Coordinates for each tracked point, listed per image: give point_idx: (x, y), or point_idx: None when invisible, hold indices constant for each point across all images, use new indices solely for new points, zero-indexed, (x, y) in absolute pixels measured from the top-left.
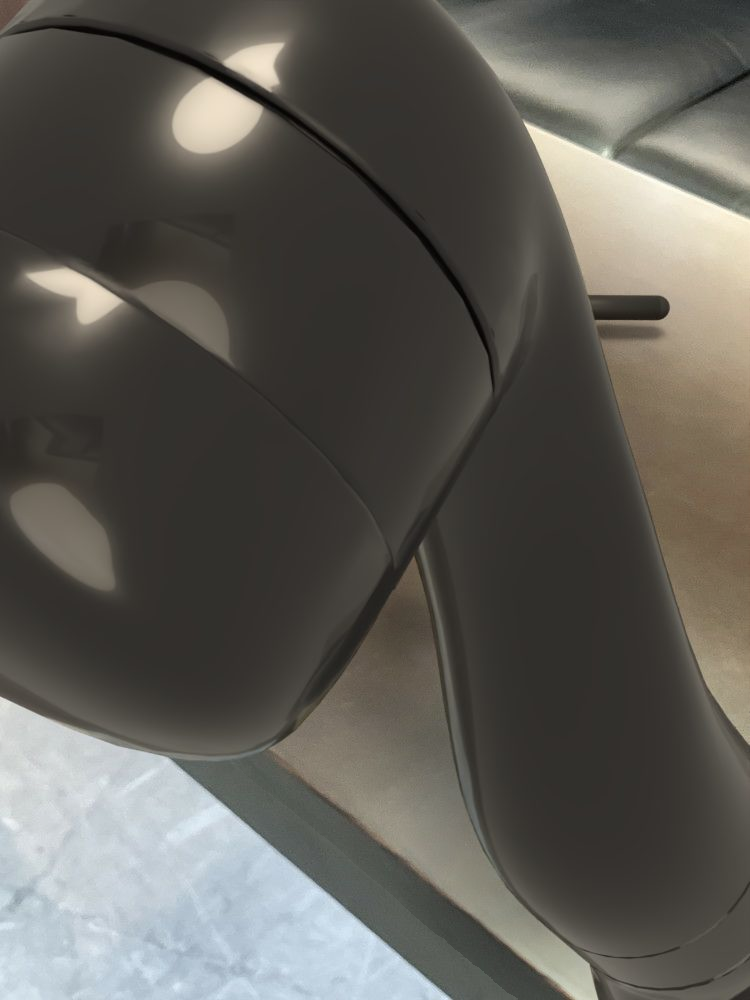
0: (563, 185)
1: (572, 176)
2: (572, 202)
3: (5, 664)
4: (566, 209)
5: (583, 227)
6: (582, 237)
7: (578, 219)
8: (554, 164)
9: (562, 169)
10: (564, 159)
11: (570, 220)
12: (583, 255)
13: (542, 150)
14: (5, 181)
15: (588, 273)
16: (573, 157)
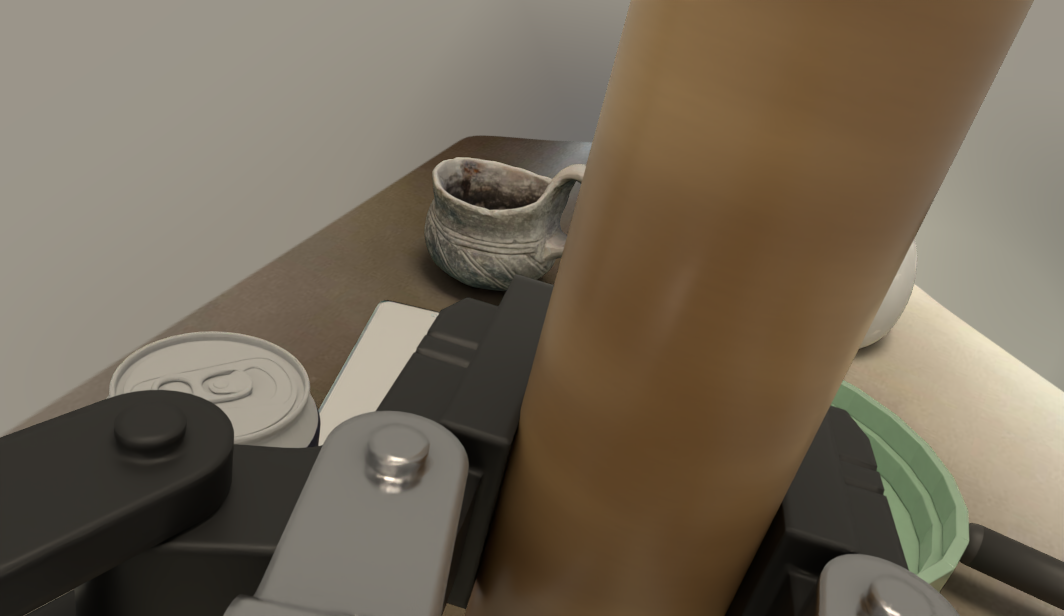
0: (1037, 416)
1: (1052, 412)
2: (1047, 439)
3: None
4: (1037, 443)
5: (1060, 475)
6: (1056, 486)
7: (1053, 462)
8: (1029, 390)
9: (1039, 399)
10: (1044, 391)
11: (1041, 458)
12: (1054, 510)
13: (1015, 371)
14: None
15: (1059, 537)
16: (1057, 394)
